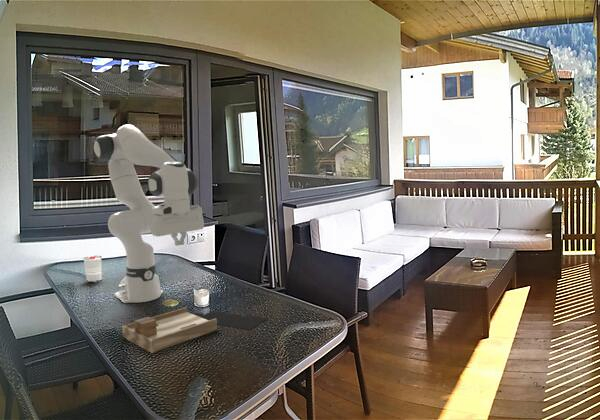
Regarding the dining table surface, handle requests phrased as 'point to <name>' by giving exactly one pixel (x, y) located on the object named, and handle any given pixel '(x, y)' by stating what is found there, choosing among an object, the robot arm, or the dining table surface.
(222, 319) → the black flat board
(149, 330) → the block
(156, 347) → the box
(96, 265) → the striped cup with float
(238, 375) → the dining table surface
